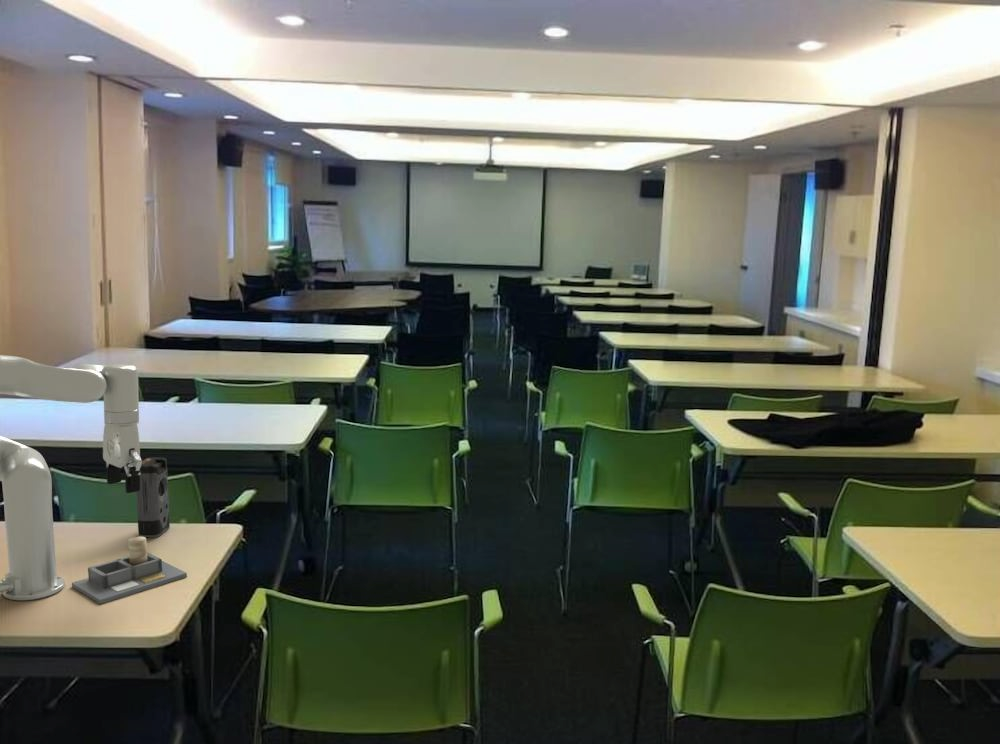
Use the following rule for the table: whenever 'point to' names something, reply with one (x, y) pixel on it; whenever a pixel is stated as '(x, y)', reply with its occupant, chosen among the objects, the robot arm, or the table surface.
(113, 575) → the charging dock
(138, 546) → the birch plug
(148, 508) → the electronic device
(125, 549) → the table surface
